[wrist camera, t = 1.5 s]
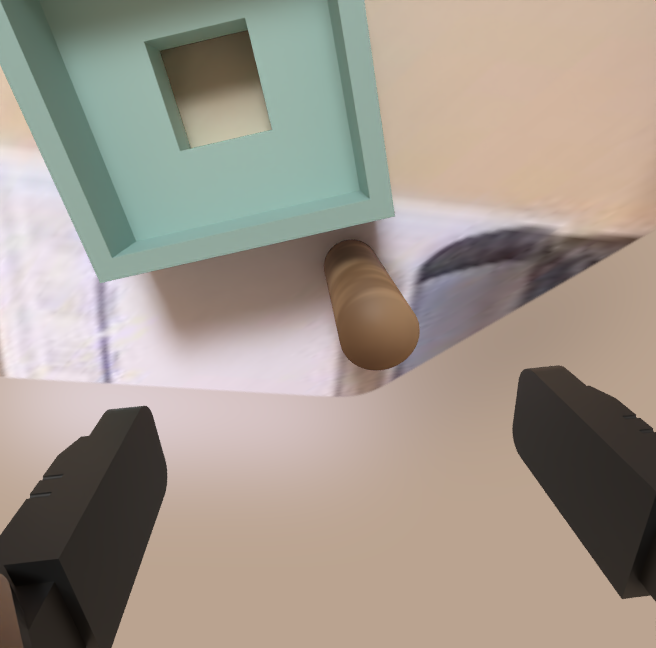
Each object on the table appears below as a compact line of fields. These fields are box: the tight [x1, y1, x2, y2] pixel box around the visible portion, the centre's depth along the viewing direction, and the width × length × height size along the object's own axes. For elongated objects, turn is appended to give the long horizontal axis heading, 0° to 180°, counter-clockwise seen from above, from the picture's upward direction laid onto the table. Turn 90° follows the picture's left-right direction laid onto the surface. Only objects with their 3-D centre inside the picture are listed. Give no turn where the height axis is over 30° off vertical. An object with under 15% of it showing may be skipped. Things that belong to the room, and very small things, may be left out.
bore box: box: [0, 0, 395, 283], centre depth 24 cm, size 17×17×7 cm
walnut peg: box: [324, 240, 419, 370], centre depth 27 cm, size 4×4×12 cm
